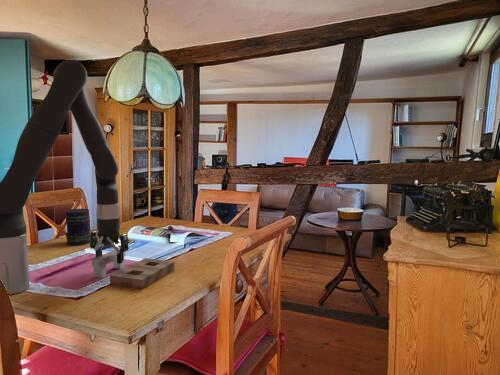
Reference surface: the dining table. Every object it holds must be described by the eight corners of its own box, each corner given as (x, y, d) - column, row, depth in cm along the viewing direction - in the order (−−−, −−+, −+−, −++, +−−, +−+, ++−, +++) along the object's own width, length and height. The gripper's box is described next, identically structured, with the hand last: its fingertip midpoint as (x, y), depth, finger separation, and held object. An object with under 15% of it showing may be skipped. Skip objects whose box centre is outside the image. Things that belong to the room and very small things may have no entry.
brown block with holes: (142, 289, 121) (142, 279, 121) (110, 284, 125) (109, 275, 125) (174, 269, 140) (174, 261, 140) (145, 266, 144) (145, 258, 144)
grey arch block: (99, 278, 130) (99, 260, 129) (92, 277, 131) (91, 259, 130) (125, 266, 143) (125, 249, 142) (118, 265, 144) (118, 248, 143)
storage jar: (94, 243, 176) (92, 210, 174) (71, 247, 169) (70, 213, 167) (85, 239, 183) (84, 207, 181) (63, 242, 176) (61, 210, 174)
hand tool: (178, 243, 178) (177, 233, 178) (169, 243, 177) (168, 233, 177) (175, 234, 197) (175, 224, 196) (167, 234, 196) (167, 225, 195)
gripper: (83, 216, 134) (85, 262, 135) (118, 219, 129) (119, 267, 131) (98, 213, 141) (100, 256, 143) (132, 215, 136) (133, 260, 138)
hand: (109, 261), depth 137 cm, fingers open, 8 cm apart
